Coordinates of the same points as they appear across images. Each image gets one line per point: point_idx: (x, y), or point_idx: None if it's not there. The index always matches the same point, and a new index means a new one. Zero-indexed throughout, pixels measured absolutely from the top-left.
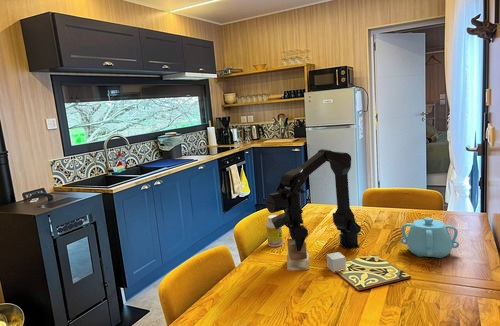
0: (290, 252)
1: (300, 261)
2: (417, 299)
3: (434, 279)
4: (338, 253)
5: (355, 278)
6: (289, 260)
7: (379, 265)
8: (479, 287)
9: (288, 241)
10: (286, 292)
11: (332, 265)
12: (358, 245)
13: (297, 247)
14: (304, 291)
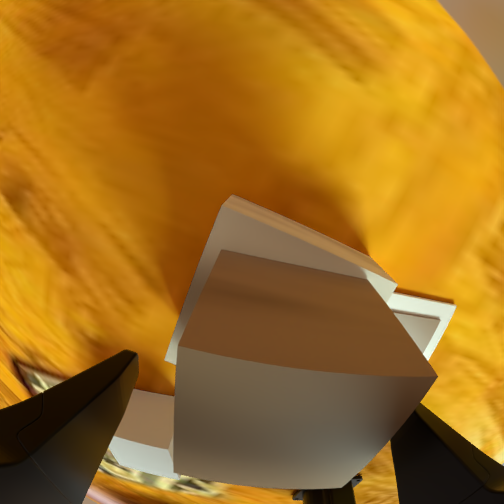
0: (207, 282)
1: (182, 310)
2: None
3: None
4: (162, 472)
5: None
6: (223, 233)
7: (147, 475)
8: None
9: (344, 376)
10: (21, 121)
11: None
12: (297, 499)
13: (85, 377)
14: (8, 202)
